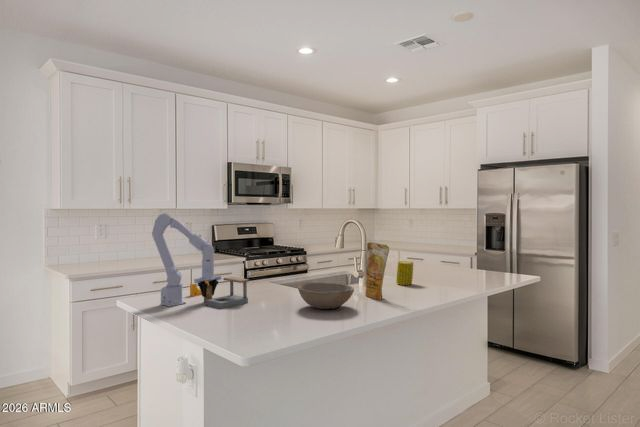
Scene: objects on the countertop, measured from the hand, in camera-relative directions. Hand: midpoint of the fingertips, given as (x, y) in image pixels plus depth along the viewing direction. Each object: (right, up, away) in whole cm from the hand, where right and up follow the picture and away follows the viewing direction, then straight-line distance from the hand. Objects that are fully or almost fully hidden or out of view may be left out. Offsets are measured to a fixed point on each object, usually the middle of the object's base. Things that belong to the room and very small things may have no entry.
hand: (208, 295), depth 216 cm
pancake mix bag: (+84, -3, +11) cm, 85 cm away
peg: (0, -3, 0) cm, 3 cm away
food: (+107, -2, +48) cm, 117 cm away
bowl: (+58, -3, -13) cm, 60 cm away
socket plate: (+10, -3, -5) cm, 12 cm away
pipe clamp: (-10, -3, +19) cm, 22 cm away
